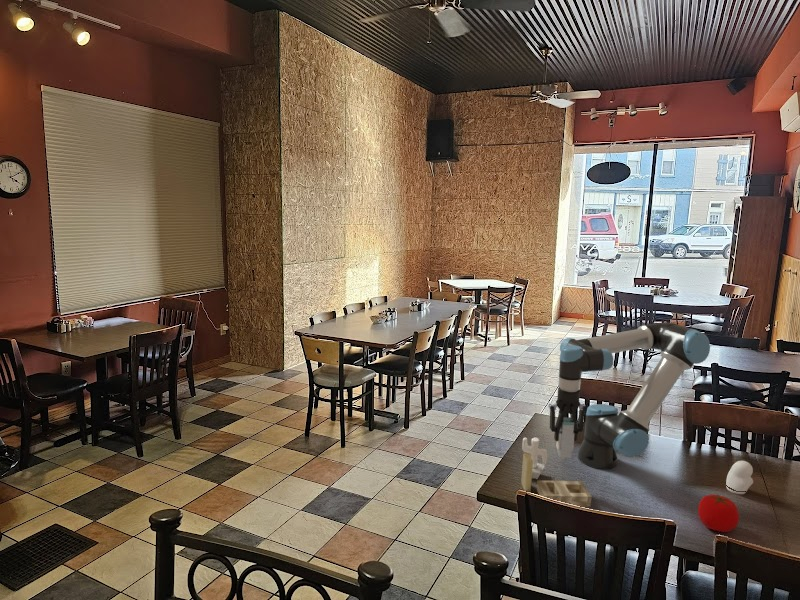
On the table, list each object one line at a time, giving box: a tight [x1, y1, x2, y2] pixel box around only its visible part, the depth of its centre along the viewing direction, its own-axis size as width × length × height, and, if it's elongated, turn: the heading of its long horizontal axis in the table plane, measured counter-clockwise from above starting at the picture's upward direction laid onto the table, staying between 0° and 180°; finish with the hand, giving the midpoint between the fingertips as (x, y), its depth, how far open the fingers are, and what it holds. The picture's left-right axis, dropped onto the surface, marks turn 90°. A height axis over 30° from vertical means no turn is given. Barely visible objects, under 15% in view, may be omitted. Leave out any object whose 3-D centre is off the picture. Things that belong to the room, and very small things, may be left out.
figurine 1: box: [521, 436, 548, 480], centre depth 201 cm, size 7×9×15 cm
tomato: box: [697, 494, 740, 533], centre depth 172 cm, size 11×12×10 cm
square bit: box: [556, 416, 574, 459], centre depth 193 cm, size 4×4×14 cm
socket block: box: [536, 479, 592, 508], centre depth 186 cm, size 16×10×4 cm, turn 90°
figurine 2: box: [725, 460, 754, 495], centre depth 194 cm, size 7×8×12 cm
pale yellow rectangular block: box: [520, 452, 533, 493], centre depth 192 cm, size 2×6×12 cm, turn 0°
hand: (564, 448), depth 193 cm, fingers closed on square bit, 4 cm apart
